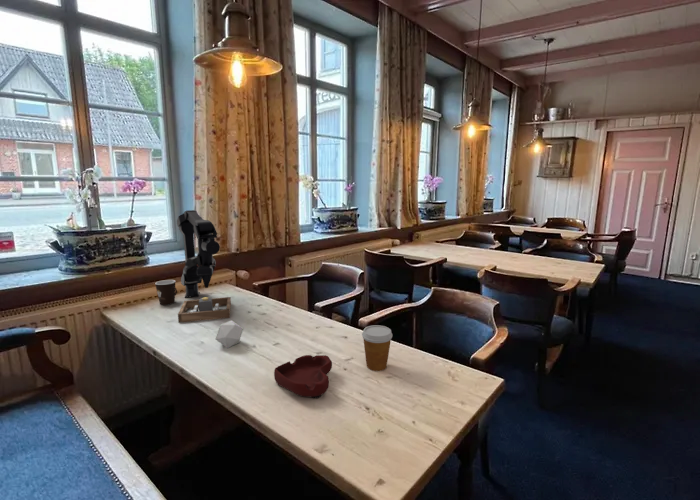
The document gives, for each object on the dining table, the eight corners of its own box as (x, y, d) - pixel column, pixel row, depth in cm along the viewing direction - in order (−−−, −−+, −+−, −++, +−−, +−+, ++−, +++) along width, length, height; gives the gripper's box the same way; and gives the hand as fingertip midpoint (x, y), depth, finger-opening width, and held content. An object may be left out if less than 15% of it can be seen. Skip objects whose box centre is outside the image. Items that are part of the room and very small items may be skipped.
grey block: (200, 311, 168) (199, 296, 167) (212, 310, 169) (211, 295, 168) (199, 315, 163) (198, 300, 162) (212, 314, 165) (210, 299, 163)
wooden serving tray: (184, 308, 172) (184, 300, 171) (230, 304, 177) (230, 297, 177) (178, 322, 155) (177, 314, 154) (229, 317, 160) (229, 309, 160)
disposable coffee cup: (356, 362, 122) (356, 327, 120) (382, 357, 126) (383, 322, 123) (369, 376, 113) (370, 339, 111) (397, 370, 117) (398, 333, 115)
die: (245, 348, 133) (249, 321, 138) (224, 344, 127) (228, 315, 131) (230, 351, 138) (234, 324, 142) (209, 347, 131) (213, 319, 136)
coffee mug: (156, 301, 181) (154, 281, 179) (175, 298, 185) (173, 279, 183) (159, 308, 171) (157, 287, 169) (179, 305, 176) (178, 284, 174)
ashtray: (281, 368, 119) (280, 353, 118) (333, 369, 118) (333, 354, 117) (267, 401, 101) (266, 384, 100) (328, 402, 101) (327, 385, 100)
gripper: (188, 246, 172) (191, 279, 175) (181, 255, 154) (184, 292, 158) (214, 245, 175) (216, 278, 178) (210, 254, 157) (213, 290, 161)
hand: (207, 284), depth 169 cm, fingers open, 9 cm apart
